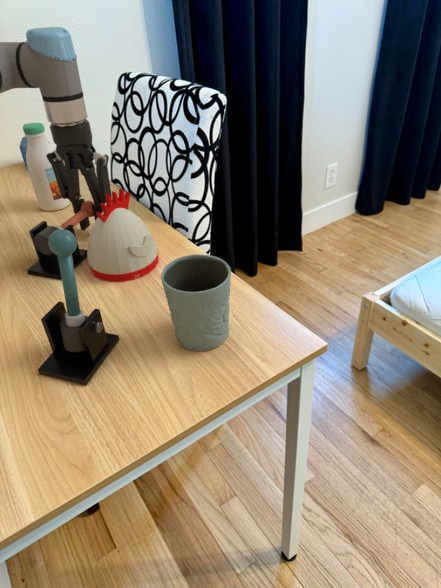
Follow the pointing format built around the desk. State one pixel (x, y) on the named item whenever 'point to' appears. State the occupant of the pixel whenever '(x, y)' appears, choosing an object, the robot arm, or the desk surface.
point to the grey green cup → (198, 300)
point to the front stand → (76, 363)
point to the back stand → (52, 256)
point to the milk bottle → (42, 169)
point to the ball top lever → (68, 289)
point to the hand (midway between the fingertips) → (93, 228)
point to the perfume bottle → (24, 148)
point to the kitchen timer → (120, 242)
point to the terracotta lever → (62, 227)
